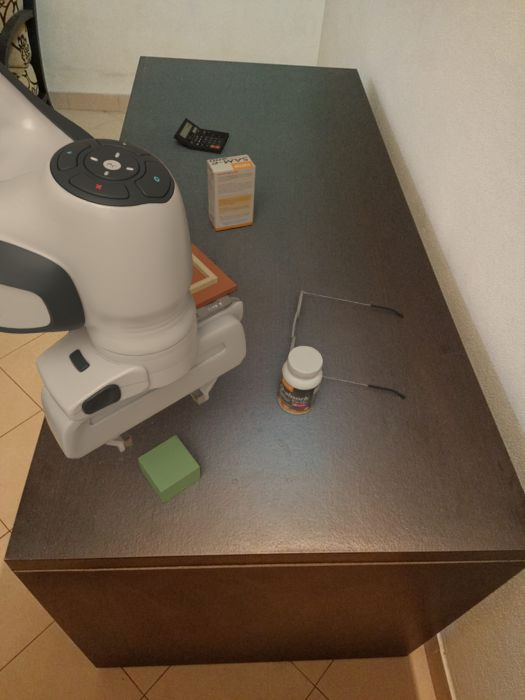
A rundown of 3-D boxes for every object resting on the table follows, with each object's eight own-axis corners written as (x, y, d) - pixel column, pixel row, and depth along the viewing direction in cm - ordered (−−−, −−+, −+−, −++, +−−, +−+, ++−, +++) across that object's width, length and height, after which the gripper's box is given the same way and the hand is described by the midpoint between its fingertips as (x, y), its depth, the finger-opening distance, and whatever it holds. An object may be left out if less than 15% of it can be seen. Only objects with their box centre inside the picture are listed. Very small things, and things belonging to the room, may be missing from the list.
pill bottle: (271, 409, 69) (278, 368, 61) (283, 379, 72) (290, 337, 64) (309, 421, 68) (320, 381, 60) (318, 390, 71) (330, 349, 64)
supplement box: (245, 212, 99) (248, 153, 89) (253, 225, 97) (256, 166, 86) (207, 218, 97) (206, 158, 87) (214, 232, 94) (214, 171, 84)
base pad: (169, 322, 78) (168, 312, 76) (128, 276, 84) (126, 265, 83) (237, 289, 84) (237, 279, 82) (193, 248, 91) (193, 238, 89)
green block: (163, 503, 59) (160, 492, 56) (141, 470, 61) (137, 458, 58) (200, 478, 61) (200, 466, 58) (177, 447, 64) (175, 434, 61)
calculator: (220, 154, 114) (220, 142, 112) (174, 146, 115) (173, 134, 112) (229, 136, 120) (229, 124, 118) (184, 129, 121) (184, 117, 118)
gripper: (223, 270, 46) (223, 357, 57) (14, 368, 37) (61, 450, 48) (263, 308, 43) (255, 392, 54) (47, 424, 34) (89, 497, 45)
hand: (163, 420), depth 51 cm, fingers open, 8 cm apart
